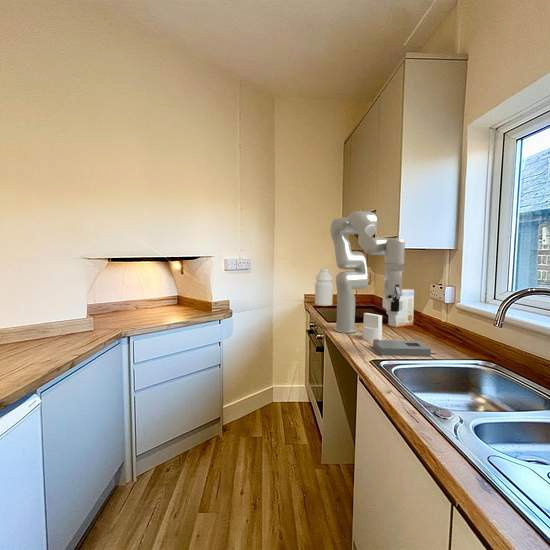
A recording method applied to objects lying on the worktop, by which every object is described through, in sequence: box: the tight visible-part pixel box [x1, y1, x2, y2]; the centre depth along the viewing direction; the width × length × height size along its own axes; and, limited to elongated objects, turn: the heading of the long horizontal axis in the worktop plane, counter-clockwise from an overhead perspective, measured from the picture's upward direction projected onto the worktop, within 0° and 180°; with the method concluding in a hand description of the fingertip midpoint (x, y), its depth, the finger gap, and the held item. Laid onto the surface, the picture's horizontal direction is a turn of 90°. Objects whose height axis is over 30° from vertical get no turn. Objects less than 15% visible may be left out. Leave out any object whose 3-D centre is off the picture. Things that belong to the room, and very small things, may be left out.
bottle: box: [314, 268, 334, 307], centre depth 264 cm, size 14×14×28 cm
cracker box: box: [387, 288, 415, 329], centre depth 193 cm, size 14×6×21 cm, turn 115°
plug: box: [382, 297, 403, 316], centre depth 144 cm, size 6×6×6 cm
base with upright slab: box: [362, 312, 383, 342], centre depth 164 cm, size 9×9×12 cm
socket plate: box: [372, 339, 432, 357], centre depth 145 cm, size 13×20×4 cm, turn 89°
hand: (392, 309), depth 144 cm, fingers closed on plug, 6 cm apart
